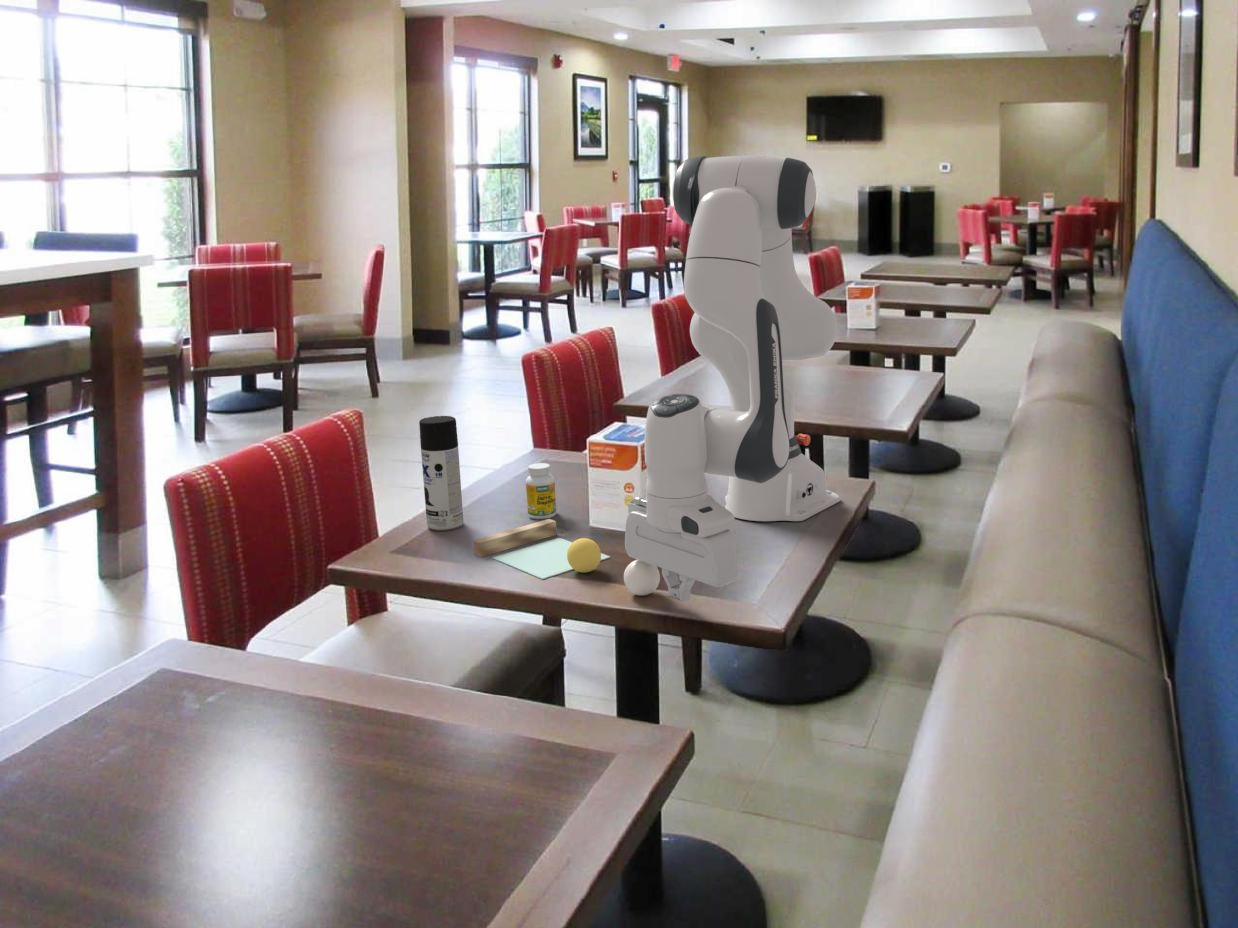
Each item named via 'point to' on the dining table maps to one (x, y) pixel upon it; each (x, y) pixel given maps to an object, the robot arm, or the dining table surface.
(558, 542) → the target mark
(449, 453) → the spray can
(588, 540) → the ball
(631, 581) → the ball
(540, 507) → the supplement bottle
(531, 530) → the rail
